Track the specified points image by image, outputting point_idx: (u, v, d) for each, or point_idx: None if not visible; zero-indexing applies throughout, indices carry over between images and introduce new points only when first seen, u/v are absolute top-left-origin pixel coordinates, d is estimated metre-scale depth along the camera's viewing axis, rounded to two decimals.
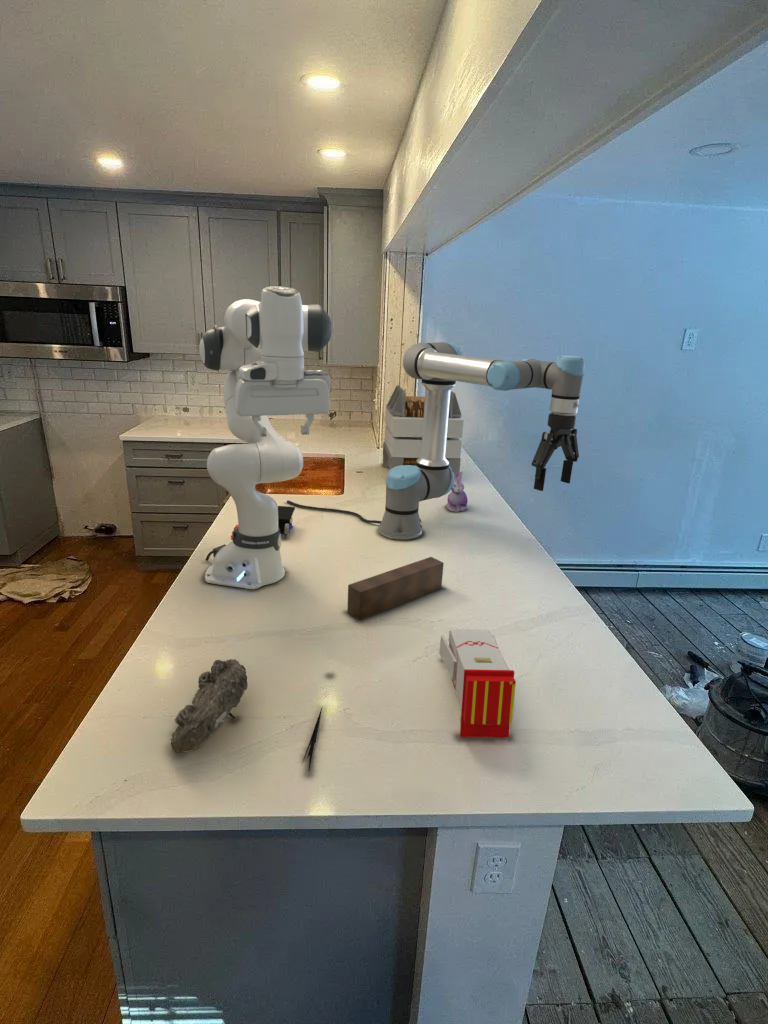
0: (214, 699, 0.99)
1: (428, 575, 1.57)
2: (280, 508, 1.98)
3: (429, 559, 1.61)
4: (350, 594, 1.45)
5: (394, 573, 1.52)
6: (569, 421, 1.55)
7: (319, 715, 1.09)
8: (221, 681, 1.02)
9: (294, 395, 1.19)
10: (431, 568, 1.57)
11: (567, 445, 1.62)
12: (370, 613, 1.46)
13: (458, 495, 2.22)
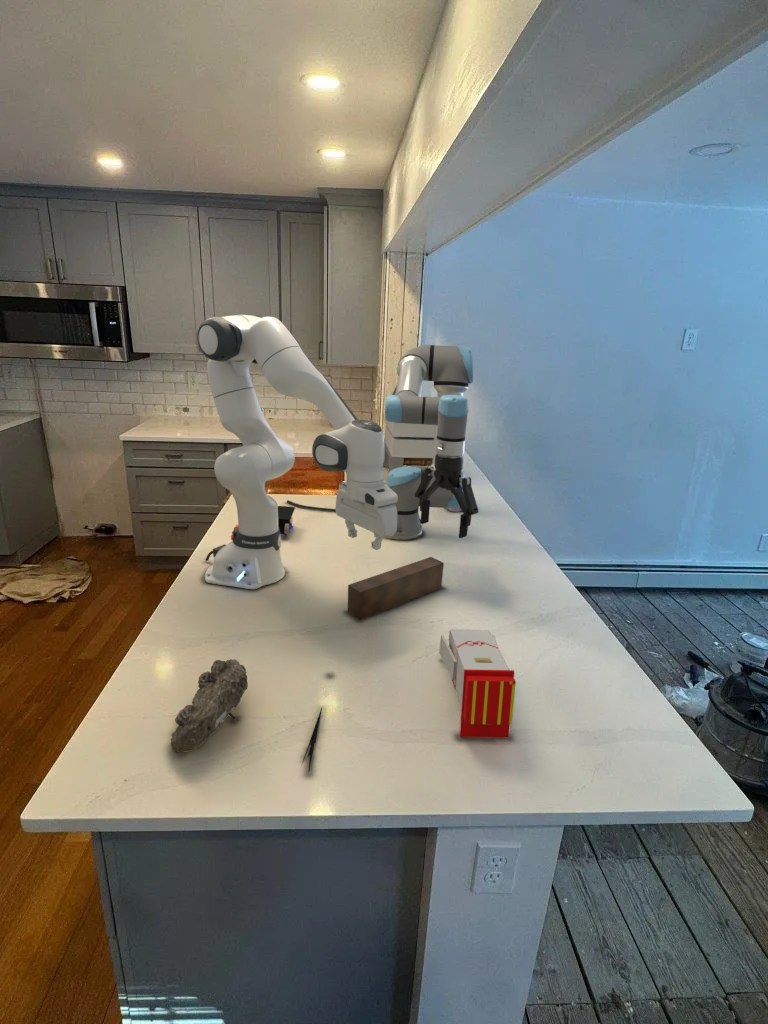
0: (214, 699, 0.99)
1: (428, 575, 1.57)
2: (280, 508, 1.98)
3: (429, 559, 1.61)
4: (350, 594, 1.45)
5: (394, 573, 1.52)
6: (435, 460, 1.50)
7: (319, 715, 1.09)
8: (221, 681, 1.02)
9: None
10: (431, 568, 1.57)
11: None
12: (370, 613, 1.46)
13: None
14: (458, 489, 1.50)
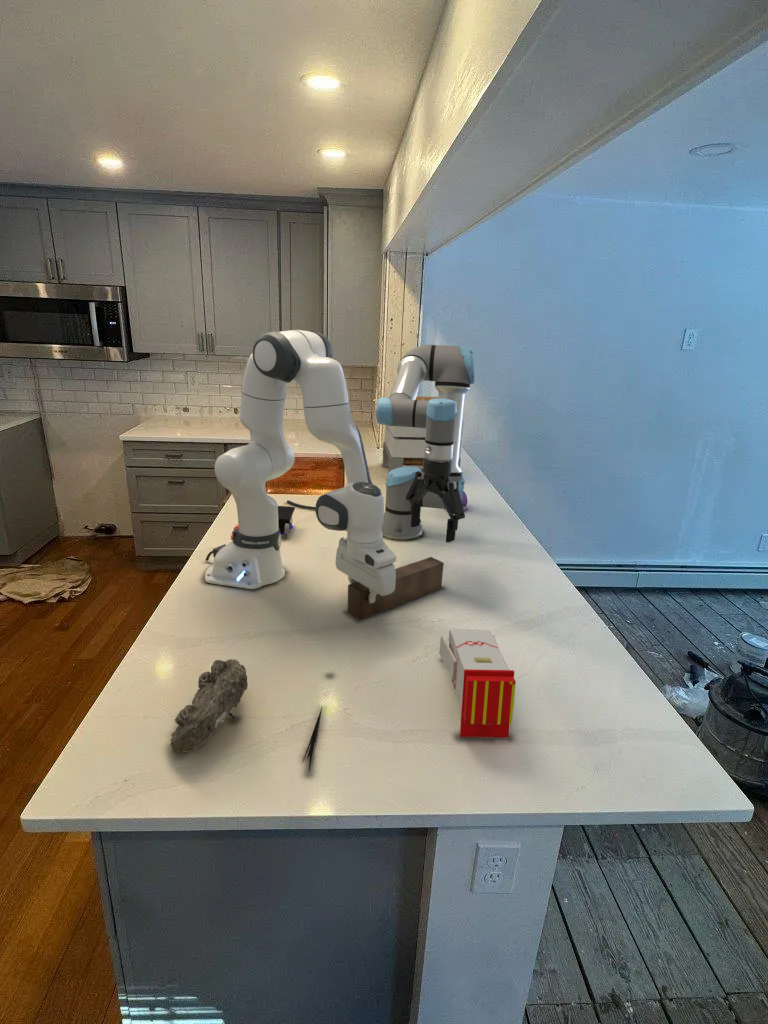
0: (214, 699, 0.99)
1: (428, 575, 1.57)
2: (280, 508, 1.98)
3: (429, 559, 1.61)
4: (350, 594, 1.45)
5: None
6: (423, 464, 1.49)
7: (319, 715, 1.09)
8: (221, 681, 1.02)
9: None
10: (431, 568, 1.57)
11: None
12: (370, 613, 1.46)
13: None
14: (446, 493, 1.50)
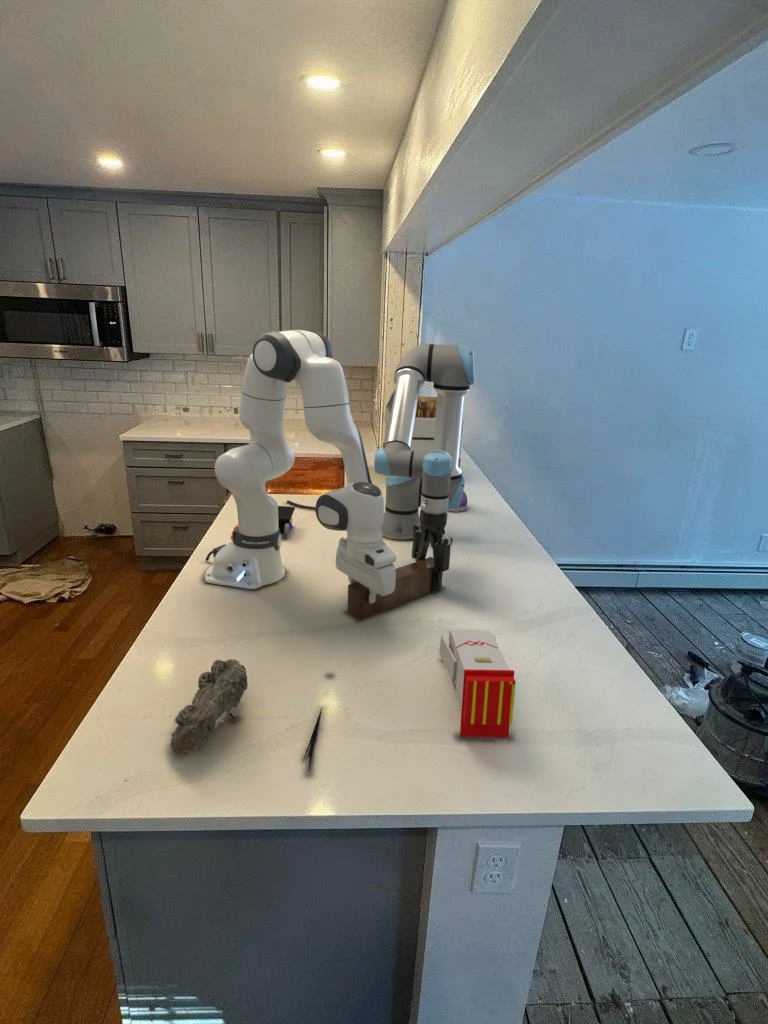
0: (214, 699, 0.99)
1: (428, 575, 1.57)
2: (280, 508, 1.98)
3: (429, 559, 1.61)
4: (350, 594, 1.45)
5: None
6: (420, 515, 1.54)
7: (319, 715, 1.09)
8: (221, 681, 1.02)
9: None
10: (431, 568, 1.57)
11: None
12: (370, 613, 1.46)
13: None
14: (438, 545, 1.56)
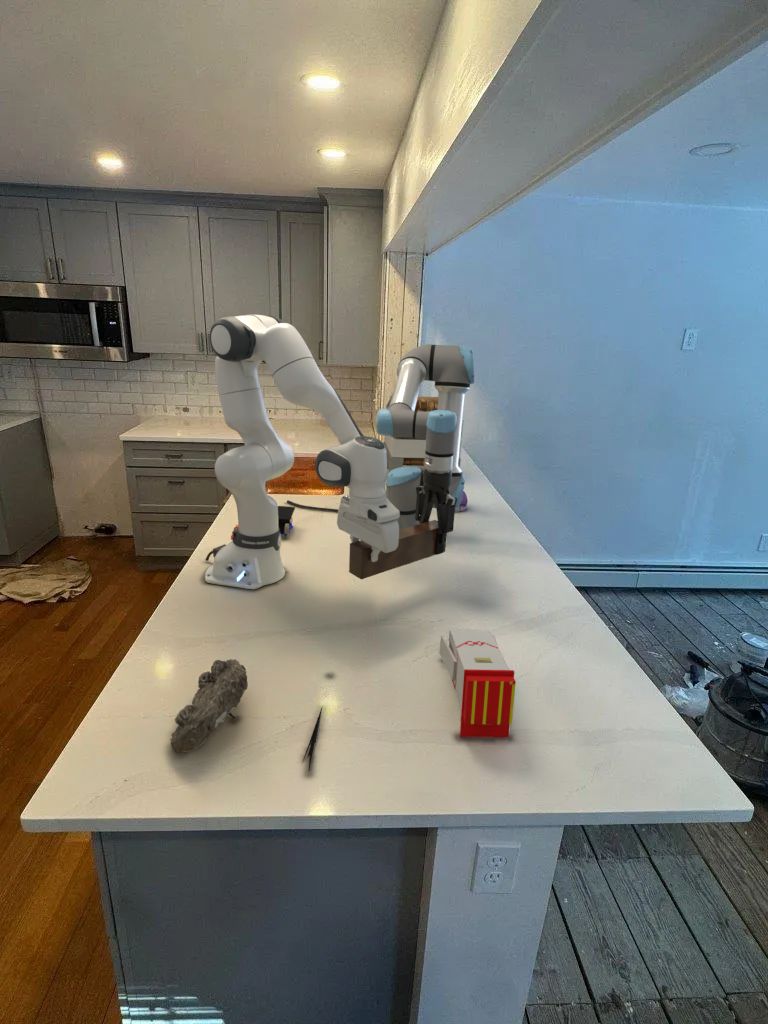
0: (214, 699, 0.99)
1: (431, 537, 1.53)
2: (280, 508, 1.98)
3: (433, 522, 1.58)
4: (352, 553, 1.41)
5: None
6: (424, 475, 1.50)
7: (319, 715, 1.09)
8: (221, 681, 1.02)
9: None
10: (435, 530, 1.53)
11: None
12: (372, 573, 1.42)
13: None
14: (442, 506, 1.52)
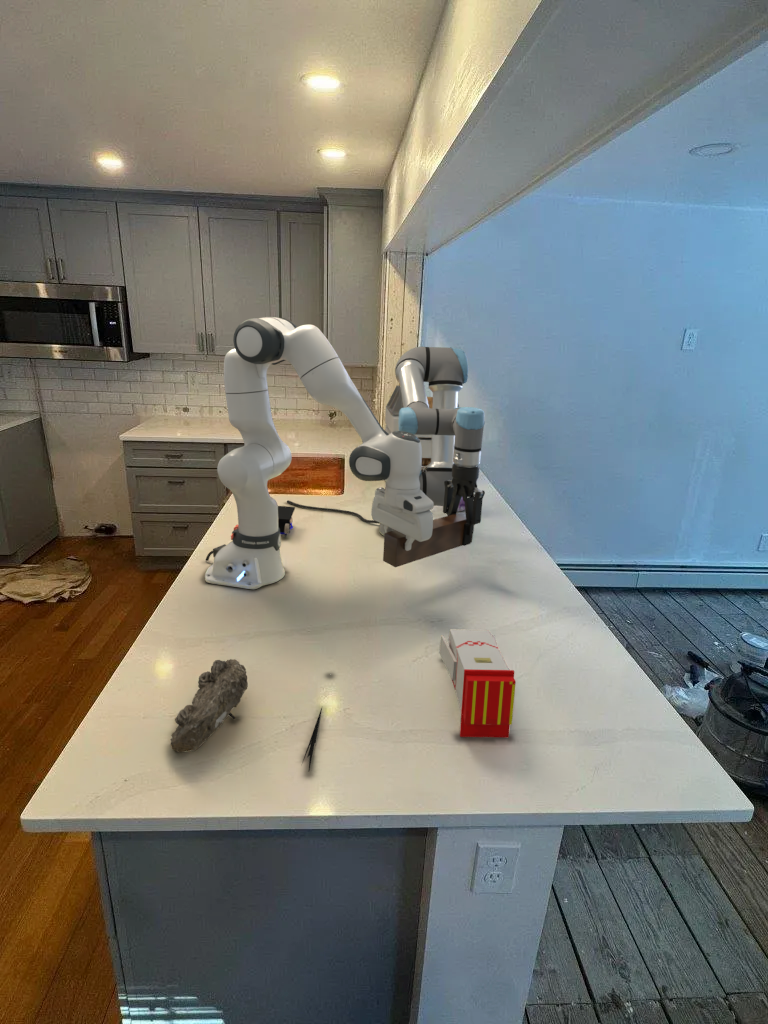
0: (214, 699, 0.99)
1: (460, 528, 1.60)
2: (280, 508, 1.98)
3: (460, 514, 1.65)
4: (386, 542, 1.48)
5: None
6: (452, 469, 1.57)
7: (319, 715, 1.09)
8: (221, 681, 1.02)
9: None
10: (463, 521, 1.60)
11: None
12: (405, 561, 1.49)
13: None
14: (470, 499, 1.59)
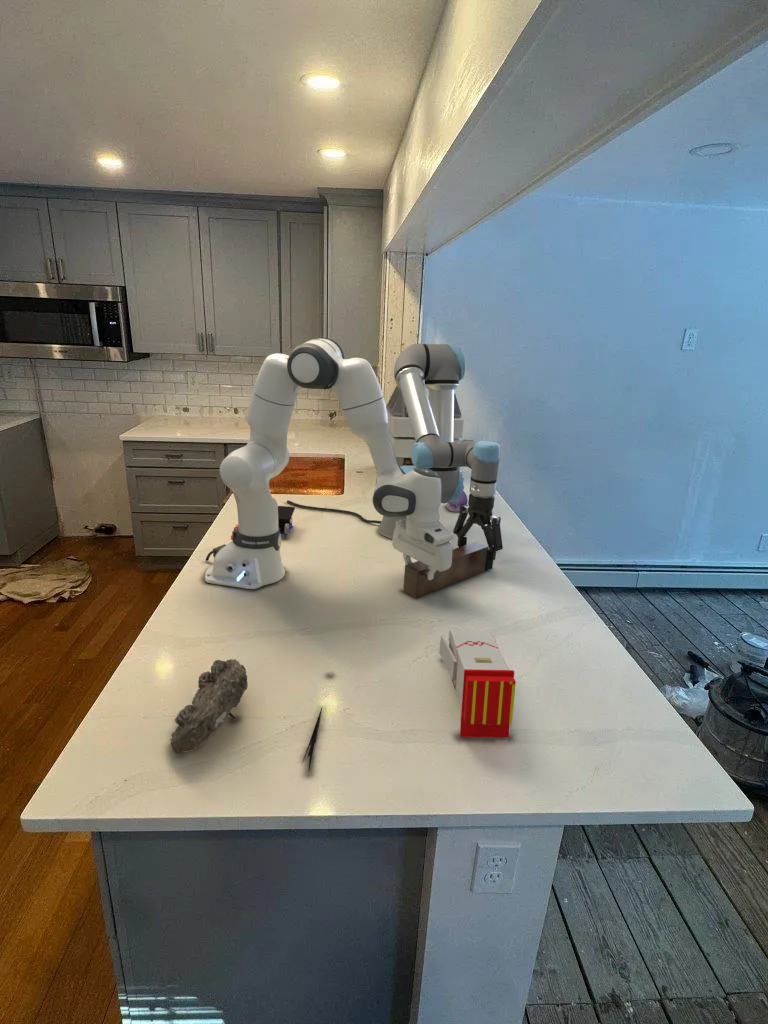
0: (214, 699, 0.99)
1: (475, 558, 1.69)
2: (280, 508, 1.98)
3: (474, 543, 1.74)
4: (407, 574, 1.57)
5: None
6: (469, 499, 1.66)
7: (319, 715, 1.09)
8: (221, 681, 1.02)
9: None
10: (478, 551, 1.69)
11: None
12: (424, 591, 1.58)
13: None
14: (488, 526, 1.67)
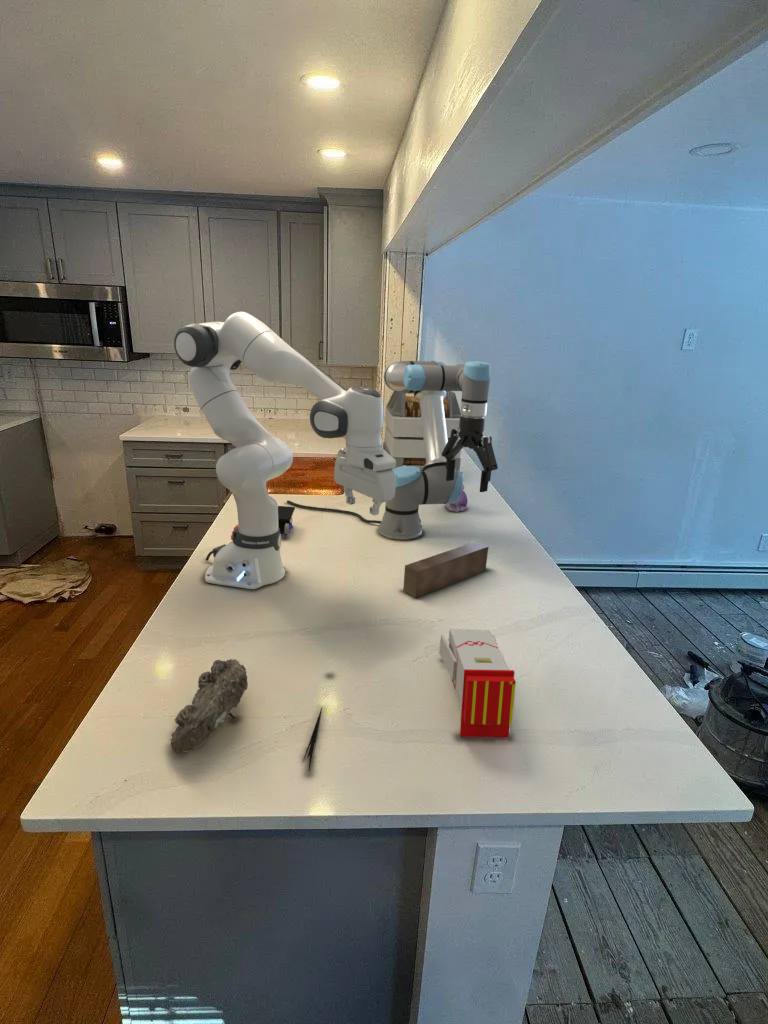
0: (214, 699, 0.99)
1: (475, 558, 1.69)
2: (280, 508, 1.98)
3: (474, 543, 1.74)
4: (407, 574, 1.57)
5: (445, 555, 1.64)
6: (460, 421, 1.66)
7: (319, 715, 1.09)
8: (221, 681, 1.02)
9: None
10: (477, 551, 1.69)
11: None
12: (424, 591, 1.58)
13: None
14: (480, 447, 1.66)
